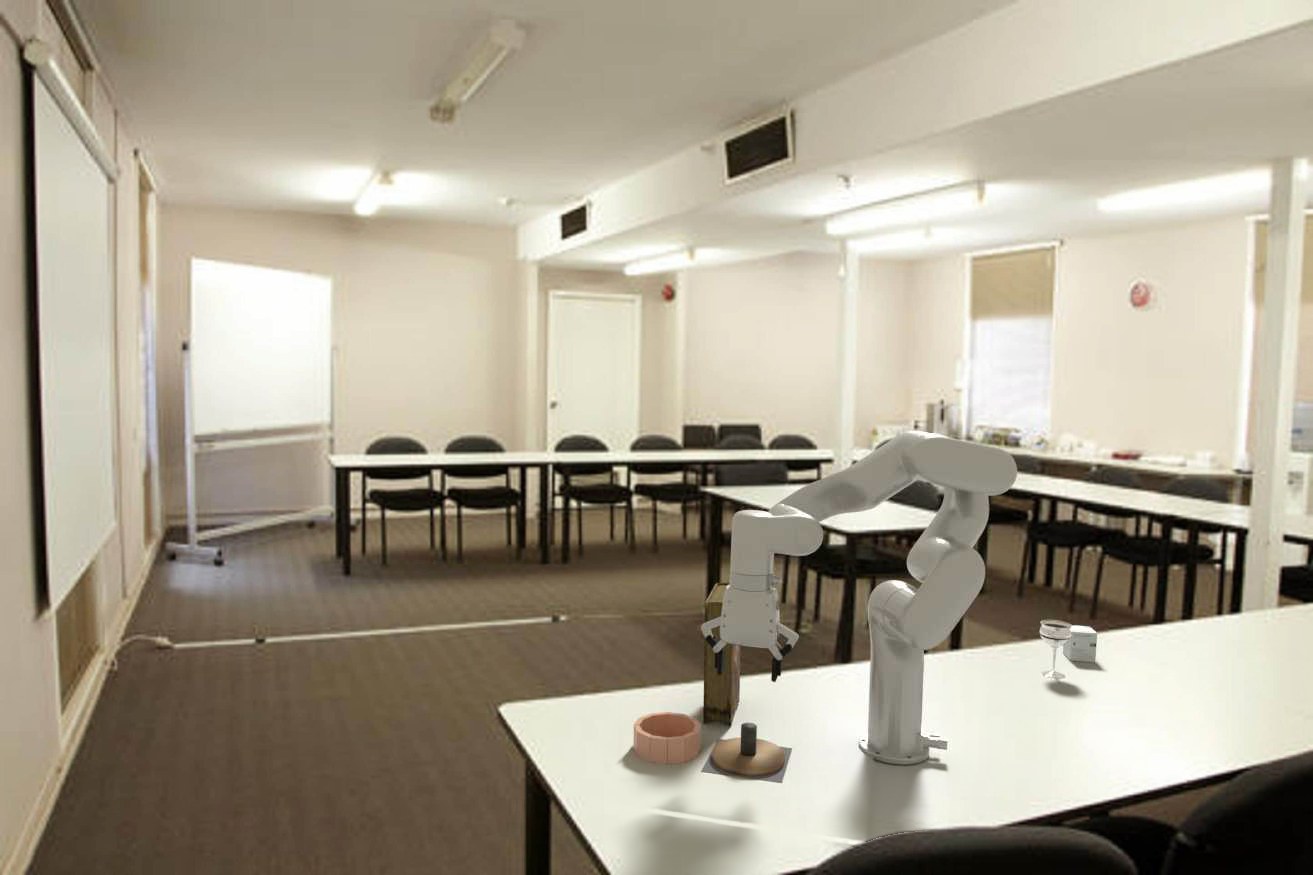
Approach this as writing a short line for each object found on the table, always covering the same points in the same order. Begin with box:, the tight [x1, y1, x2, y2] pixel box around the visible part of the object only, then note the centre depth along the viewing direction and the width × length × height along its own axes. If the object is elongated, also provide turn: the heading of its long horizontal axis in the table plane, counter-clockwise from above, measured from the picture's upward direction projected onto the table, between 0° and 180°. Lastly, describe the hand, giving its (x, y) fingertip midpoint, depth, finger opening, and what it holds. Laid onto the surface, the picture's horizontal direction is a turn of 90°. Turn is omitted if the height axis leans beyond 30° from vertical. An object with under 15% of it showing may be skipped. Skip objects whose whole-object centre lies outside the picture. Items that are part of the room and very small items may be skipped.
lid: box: [711, 722, 785, 776], centre depth 158 cm, size 13×13×6 cm
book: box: [702, 582, 742, 727], centre depth 180 cm, size 16×6×25 cm, turn 168°
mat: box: [700, 738, 793, 784], centre depth 159 cm, size 14×14×1 cm
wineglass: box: [1039, 619, 1072, 679], centre depth 205 cm, size 7×7×12 cm
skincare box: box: [1062, 624, 1098, 663], centre depth 218 cm, size 6×6×7 cm
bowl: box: [633, 711, 702, 765], centre depth 163 cm, size 12×12×5 cm
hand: (747, 675), depth 157 cm, fingers open, 9 cm apart
